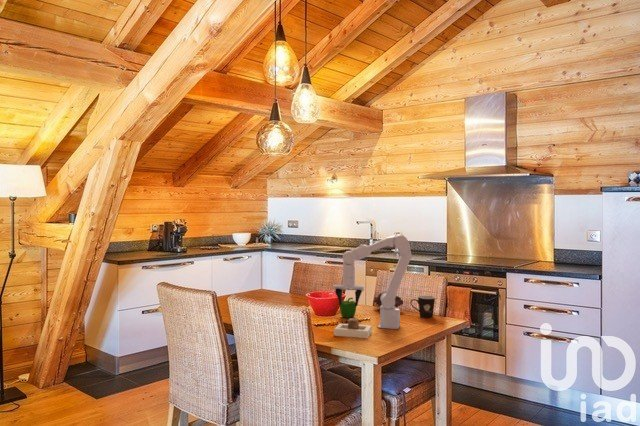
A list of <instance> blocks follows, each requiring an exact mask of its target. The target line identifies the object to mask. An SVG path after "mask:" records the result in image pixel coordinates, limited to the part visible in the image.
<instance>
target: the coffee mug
mask: <svg viewBox="0 0 640 426" xmlns="http://www.w3.org/2000/svg"><path fill="white" fill-rule="evenodd" d="M413 301H416V302H417V304H418V308H417V307H415V306H414V305H413V304H412V303H413ZM435 301H436V296H432V295H418V296H417V299H415V298H413V299H411V301H410V306H411V307H412V308H413V309H415V310H417V312H419V317H420V318H422V319H431V318H433V317H434V310H435V304H436V303H435Z"/></svg>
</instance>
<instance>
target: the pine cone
mask: <svg viewBox="0 0 640 426" xmlns="http://www.w3.org/2000/svg"><path fill="white" fill-rule="evenodd" d="M384 292H385V291H382V292H380V293H379V294H378V295H377V296H376V297H374V298H373V299H374V300H373V301H372V302H373V303H376V305H377V307H378V308H380V306H381V305H382V302H381V299H380V297H381V295H382V294H383V293H384ZM403 305H404V300H403V299H402V298H401V297H400V296H397V295H396V298H395V305H394V306H395V308H398V307H400V306H403Z"/></svg>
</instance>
